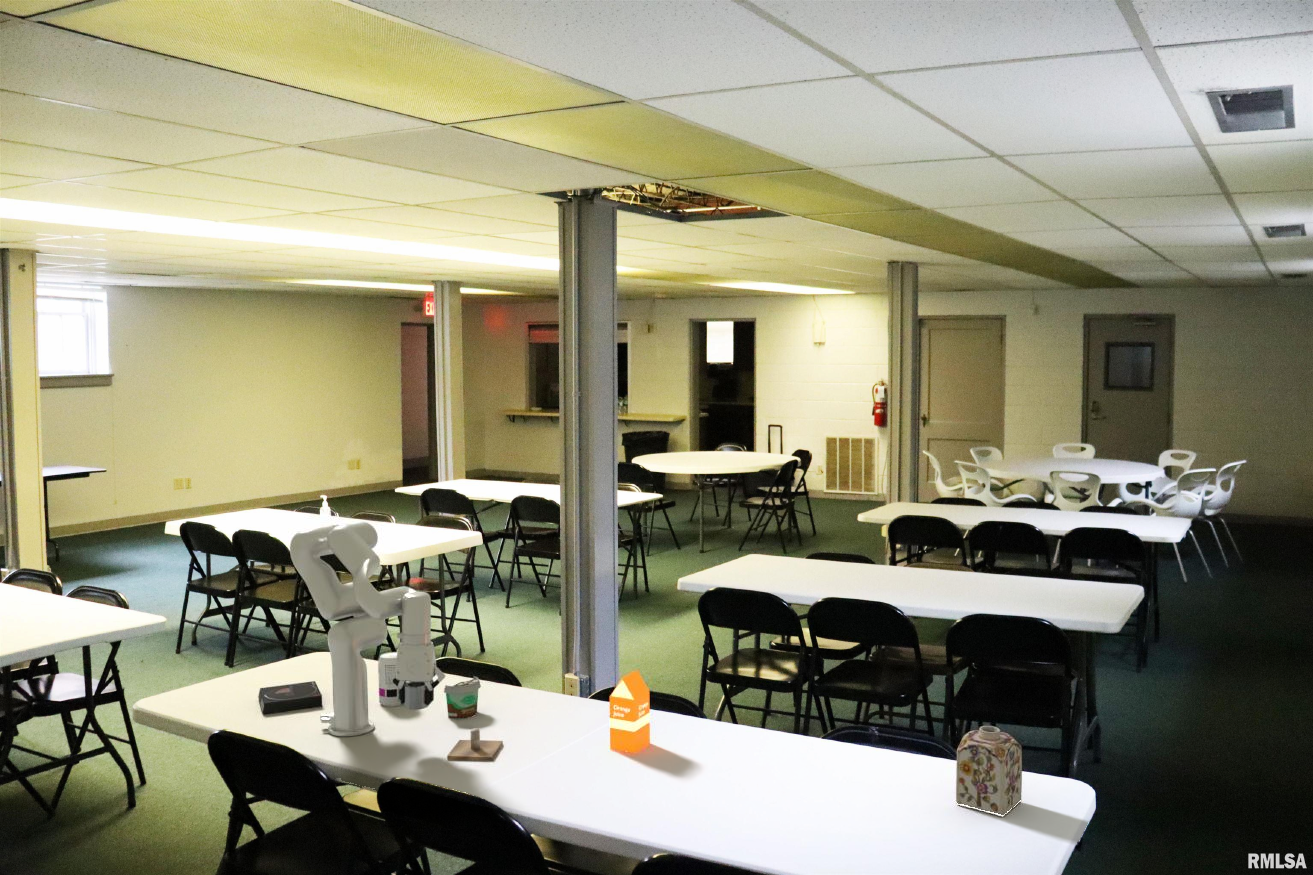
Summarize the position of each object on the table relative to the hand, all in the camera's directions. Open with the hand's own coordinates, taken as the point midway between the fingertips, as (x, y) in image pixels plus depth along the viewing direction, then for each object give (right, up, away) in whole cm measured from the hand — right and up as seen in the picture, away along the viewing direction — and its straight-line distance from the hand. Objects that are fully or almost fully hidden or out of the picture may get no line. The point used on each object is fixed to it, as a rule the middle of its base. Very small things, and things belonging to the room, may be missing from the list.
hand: (416, 702), depth 287 cm
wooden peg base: (+17, -13, -3) cm, 21 cm away
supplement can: (-16, -10, +39) cm, 43 cm away
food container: (+9, -11, +27) cm, 30 cm away
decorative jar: (+143, -14, -39) cm, 149 cm away
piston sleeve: (0, -1, 0) cm, 1 cm away
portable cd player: (-48, -11, +40) cm, 63 cm away
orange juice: (+58, -12, 0) cm, 59 cm away
